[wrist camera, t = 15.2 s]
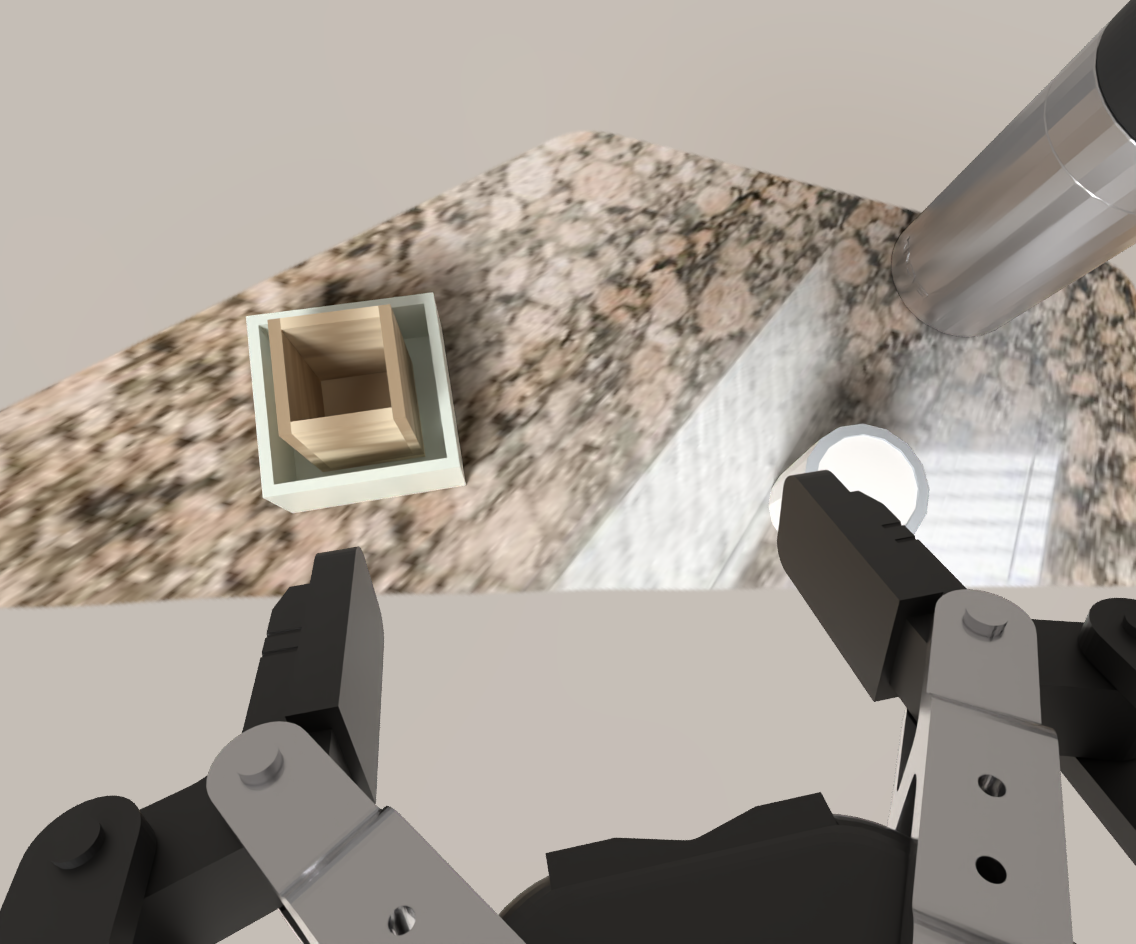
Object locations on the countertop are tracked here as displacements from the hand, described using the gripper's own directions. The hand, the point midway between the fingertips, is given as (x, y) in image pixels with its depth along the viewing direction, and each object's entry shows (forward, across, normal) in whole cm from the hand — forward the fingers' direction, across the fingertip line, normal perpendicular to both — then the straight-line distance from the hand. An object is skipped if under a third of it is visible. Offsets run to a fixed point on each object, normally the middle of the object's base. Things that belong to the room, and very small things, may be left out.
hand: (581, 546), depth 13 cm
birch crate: (+29, +8, +11) cm, 32 cm away
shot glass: (+22, -18, +19) cm, 34 cm away
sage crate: (+29, +8, +11) cm, 32 cm away
